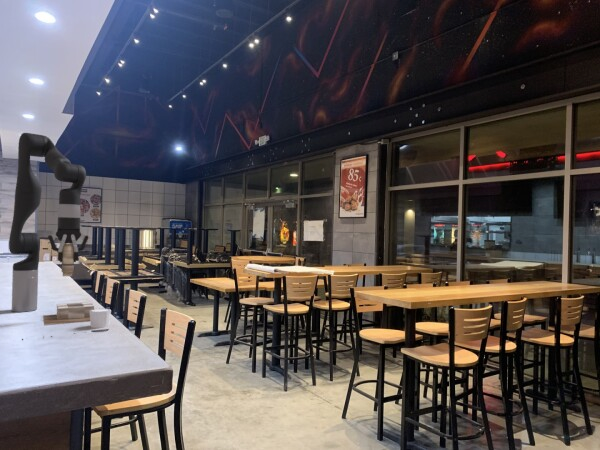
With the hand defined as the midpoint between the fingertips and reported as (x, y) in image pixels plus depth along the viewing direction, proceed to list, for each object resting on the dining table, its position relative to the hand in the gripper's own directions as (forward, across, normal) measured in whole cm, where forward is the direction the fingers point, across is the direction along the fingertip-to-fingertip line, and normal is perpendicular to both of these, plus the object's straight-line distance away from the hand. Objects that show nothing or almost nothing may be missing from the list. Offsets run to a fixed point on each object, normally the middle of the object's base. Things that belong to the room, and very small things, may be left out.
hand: (67, 261), depth 161 cm
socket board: (+23, -1, +1) cm, 23 cm away
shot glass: (+22, -10, +20) cm, 32 cm away
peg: (+5, 0, 0) cm, 5 cm away
